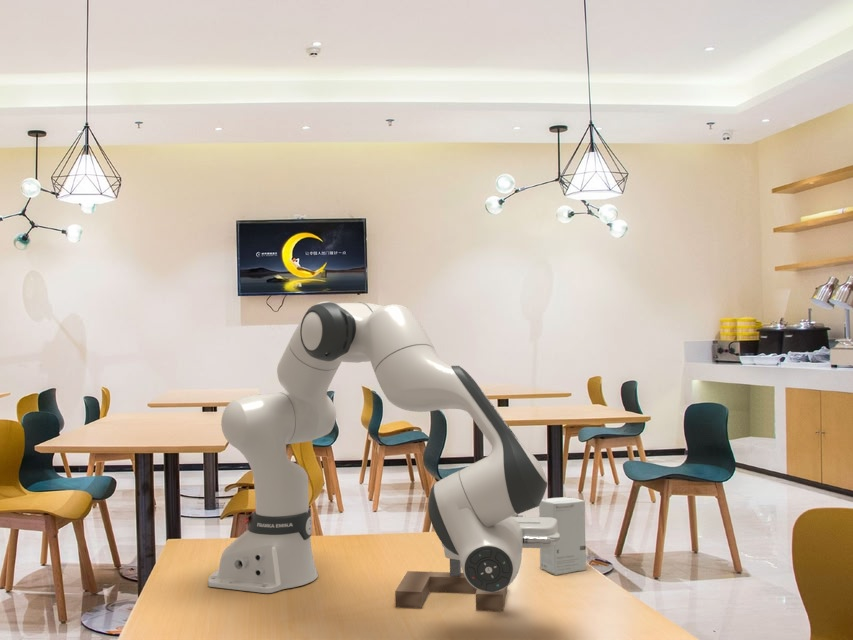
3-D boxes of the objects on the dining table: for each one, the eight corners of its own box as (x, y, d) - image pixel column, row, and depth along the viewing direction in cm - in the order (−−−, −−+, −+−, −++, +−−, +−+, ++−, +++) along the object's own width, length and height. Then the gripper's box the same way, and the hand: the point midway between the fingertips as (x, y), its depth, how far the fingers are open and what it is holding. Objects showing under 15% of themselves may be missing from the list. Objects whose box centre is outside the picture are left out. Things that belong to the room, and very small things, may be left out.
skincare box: (554, 576, 156) (553, 504, 156) (538, 568, 161) (536, 498, 161) (588, 570, 159) (586, 499, 159) (571, 562, 165) (569, 494, 165)
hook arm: (443, 609, 138) (441, 516, 138) (451, 588, 149) (449, 502, 150) (454, 610, 138) (451, 516, 138) (461, 588, 149) (459, 502, 149)
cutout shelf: (395, 607, 140) (395, 591, 140) (407, 586, 151) (407, 571, 151) (503, 611, 136) (503, 594, 136) (507, 589, 148) (507, 574, 148)
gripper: (560, 521, 121) (558, 502, 135) (434, 519, 125) (446, 501, 138) (561, 561, 121) (559, 538, 135) (435, 557, 125) (446, 535, 138)
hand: (501, 519), depth 137 cm, fingers closed on pill bottle, 6 cm apart
